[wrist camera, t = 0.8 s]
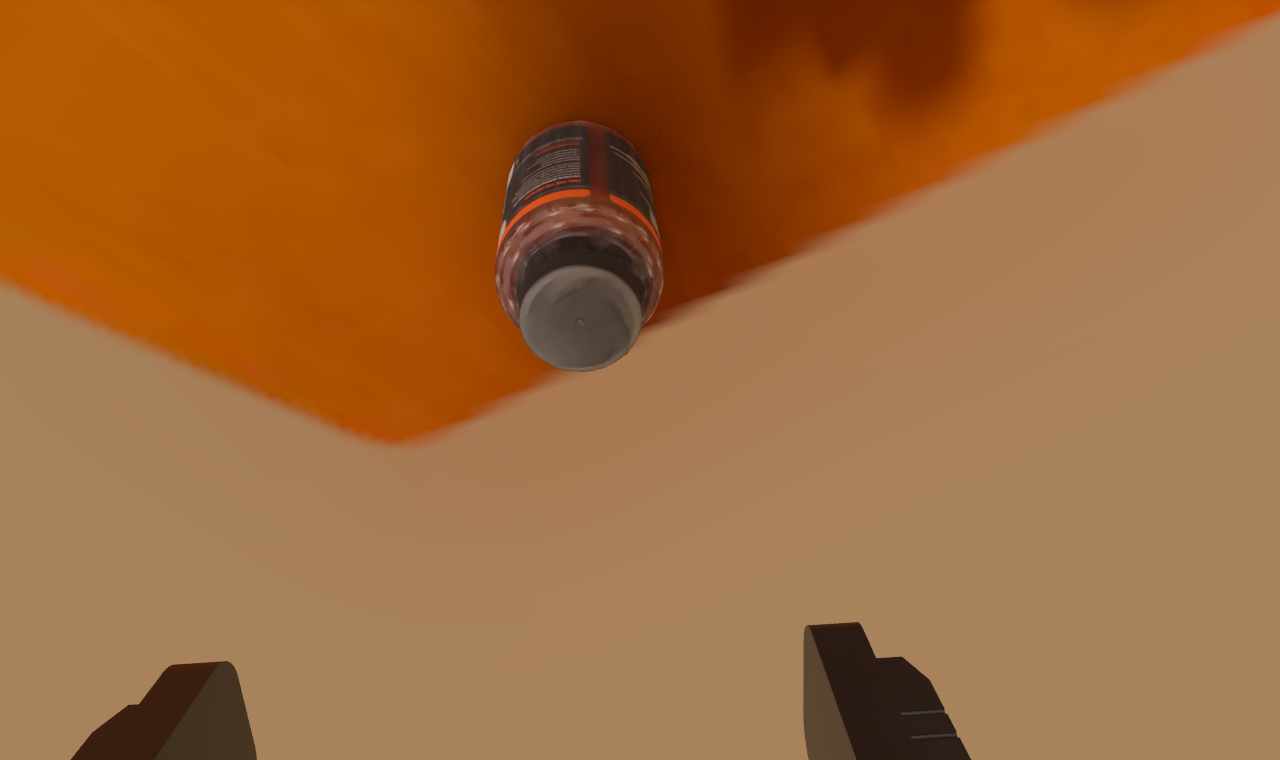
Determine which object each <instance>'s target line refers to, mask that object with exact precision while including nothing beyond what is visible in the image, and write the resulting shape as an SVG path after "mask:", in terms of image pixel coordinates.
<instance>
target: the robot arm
mask: <svg viewBox="0 0 1280 760" xmlns="http://www.w3.org/2000/svg"><path fill="white" fill-rule="evenodd" d="M803 713H804V732H805V740H806V747H807V753H808V758H809V760H971V759H970V757H969V755H968V753H967V751H966V749H965V747H964V745H963V743H962V741H961V739H960V738H957V734H956V730H955V728H954V726H953V724H952V722H951V720H950V718H949V716H948V714H945V711H944V707H943V705H942V703H941V701H940V699H939V697H938V695H937V693H936V691H935V690H934V687H933V686H932V684H931V682H930V680H929V679H928V678H927V677H925V676H924V675H923V674H922V673H921V672H919V671H918V670H917V669H916V668H915V667H914V666H912V665H911V664H910V663H909V662H908V661H906V660H905V659H904V658H903V657H890V658H876V657H875V655H874V653H873V650H872V648H871V646H870V644H869V641H868V639H867V637H866V635H865V632H864V630H863V628H862V626H861V625H860V624H859V623H858V622H853V623H838V624H823V625H808V626H806V627H805V631H804V711H803ZM71 760H257V758H256V750H255V745H254V741H253V737H252V732H251V728H250V725H249V720H248V716H247V712H246V708H245V704H244V699H243V695H242V692H241V687H240V683H239V679H238V675H237V672H236V670H235V668H234V666H233V665H232V664H231V663H230V662H227V661H224V662H208V663H193V664H179V665H178V664H177V665H171V666H169V667H168V668H167V669H166V670H165V671H164V672H163V673H162V675H161V676H160V677H159V679H158V680H157V681H156V683H155V684H154V685H153V687H152V688H151V689H150V691H149V692H148V693H147V694H146V696H145V697H144V698H143V700H142V701H141V702H140V704H138V705H128V706H127V707H125V708H124V709H123V710H121V711H120V712H119V713H117V714H116V715H115V716H114V717H112V718H111V719H109V720H108V721H107V722H106V723H104V724H103V725H102V726H100V727H99V728H98V729H96V730H95V731H94V732H92V733H91V735H90V736H89V737H88V739H87V740H86V741H85V742H84V744H83V745H82V746H81V747H80V749H79V750H78V751H77V752H76V754H75V755H74V756H73V758H72V759H71Z"/></svg>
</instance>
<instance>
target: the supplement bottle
mask: <svg viewBox="0 0 1280 760" xmlns="http://www.w3.org/2000/svg"><path fill="white" fill-rule="evenodd" d="M495 283H496V288H497V292H498V295H499V299H500V302H501V304H502V306H503V309H504V310H505V313H506V314H507V315H508V317H509V318H510V320H511V321H512V323H513V324H514V325H516V327H517V328H518V329H519V330H520V331H521V334H522V336H523V338H524V340H525V342H526V344H527V346H528V347H529V348H530V349H531V351H532V352H533V353H534V354H535V355H536V356H538V357H539V358H540V359H541V360H543V361H544V362H546V363H548V364H550V365H552V366H554V367H556V368H559V369H563V370H568V371H580V372H586V371H594V370H597V369H601V368H605V367H607V366H609V365H611V364H613V363H614V362H616V361H617V360H619V359H620V358H622V357H623V356H624V355H626V354H627V353H628V351H629V350H630V349H631V348H632V346H633V345H634V344H635V342H636V340H637V338H638V336H639V333H640V329H641V328H642V327H643V326H644V325H645V323H646V322H647V321H649V319H650V318H651V316H652V315H653V313H654V311H655V309H656V307H657V305H658V303H659V300H660V297H661V294H662V290H663V285H664V262H663V255H662V247H661V242H660V237H659V231H658V225H657V220H656V214H655V209H654V203H653V197H652V192H651V186H650V181H649V177H648V173H647V170H646V168H645V165H644V162H643V160H642V158H641V156H640V155H639V153H638V152H637V150H636V149H635V147H634V146H633V145H632V144H631V143H630V142H629V141H628V140H627V139H626V138H625V137H624V136H623V135H621V134H620V133H618V132H616V131H615V130H613V129H611V128H609V127H607V126H604V125H601V124H598V123H594V122H590V121H582V120H573V121H565V122H561V123H557V124H554V125H551V126H549V127H547V128H545V129H543V130H541V131H539V132H538V133H536V134H535V135H534V136H532V137H531V138H530V139H529V140H528V141H527V142H526V143H525V144H524V146H523V147H522V148H521V149H520V151H519V153H518V154H517V156H516V158H515V160H514V162H513V165H512V168H511V171H510V174H509V178H508V184H507V190H506V196H505V203H504V210H503V216H502V223H501V229H500V235H499V243H498V249H497V256H496V264H495Z"/></svg>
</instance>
